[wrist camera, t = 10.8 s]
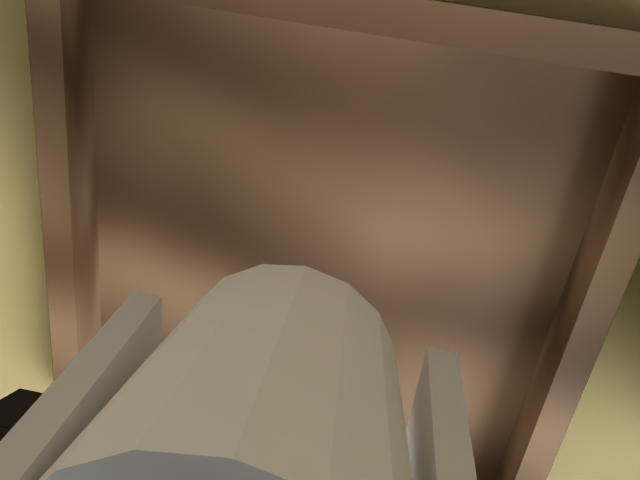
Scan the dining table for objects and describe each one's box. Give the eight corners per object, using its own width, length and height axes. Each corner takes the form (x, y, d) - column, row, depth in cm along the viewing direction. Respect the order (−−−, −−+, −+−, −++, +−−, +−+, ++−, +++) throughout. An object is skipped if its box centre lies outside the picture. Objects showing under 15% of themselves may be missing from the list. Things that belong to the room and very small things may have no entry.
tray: (71, -56, 17) (20, -63, 15) (682, 37, 16) (727, 45, 14) (90, 406, 25) (59, 449, 22) (506, 494, 23) (517, 548, 21)
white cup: (327, 494, 17) (280, 801, 10) (123, 376, 16) (-60, 630, 10) (476, 338, 14) (538, 627, 8) (240, 185, 13) (90, 367, 7)
